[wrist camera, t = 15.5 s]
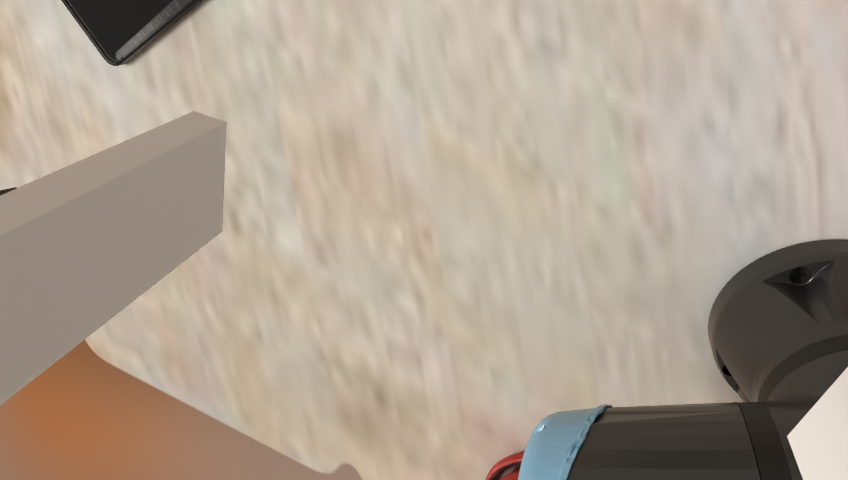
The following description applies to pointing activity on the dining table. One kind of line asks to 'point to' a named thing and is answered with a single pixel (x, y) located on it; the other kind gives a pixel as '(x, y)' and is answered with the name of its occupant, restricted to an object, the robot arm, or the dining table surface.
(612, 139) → the dining table surface
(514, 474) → the plant pot
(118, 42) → the phone
